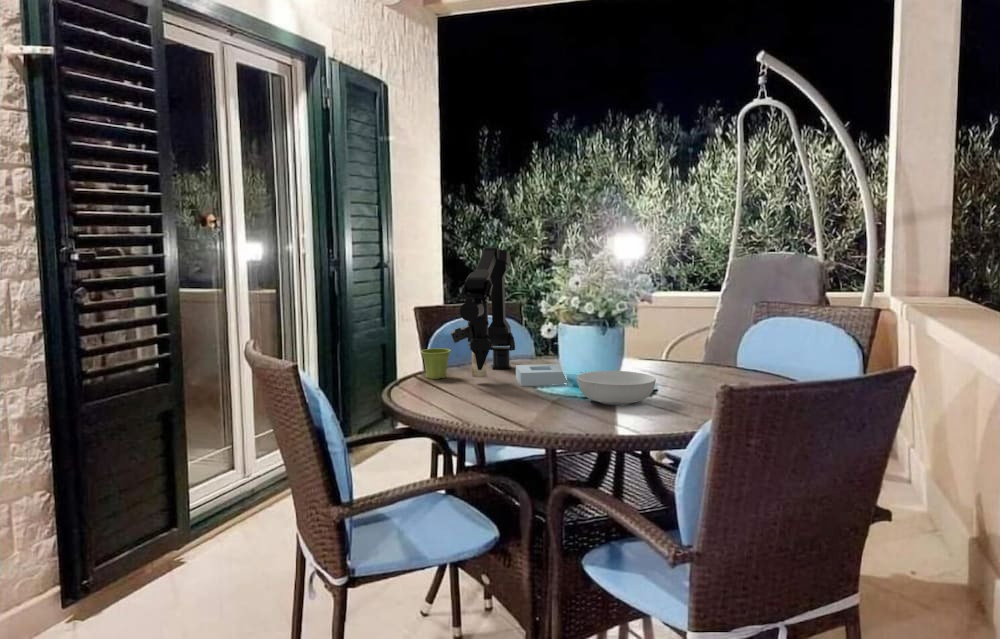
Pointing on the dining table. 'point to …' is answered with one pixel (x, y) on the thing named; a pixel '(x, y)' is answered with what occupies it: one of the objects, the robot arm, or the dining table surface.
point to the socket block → (540, 374)
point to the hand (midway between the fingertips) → (479, 368)
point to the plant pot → (436, 362)
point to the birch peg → (475, 370)
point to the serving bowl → (616, 386)
